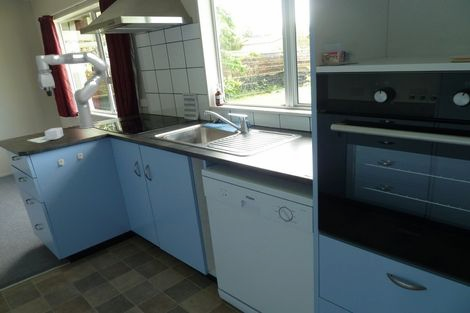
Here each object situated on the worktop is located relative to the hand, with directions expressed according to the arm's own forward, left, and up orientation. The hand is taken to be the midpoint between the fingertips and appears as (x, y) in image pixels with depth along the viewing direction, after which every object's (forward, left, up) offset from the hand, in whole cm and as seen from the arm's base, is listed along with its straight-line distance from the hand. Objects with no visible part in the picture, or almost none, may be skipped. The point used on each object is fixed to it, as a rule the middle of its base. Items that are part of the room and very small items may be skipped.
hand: (49, 96), depth 264 cm
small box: (+9, +20, -26) cm, 34 cm away
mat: (+19, +18, -29) cm, 39 cm away
